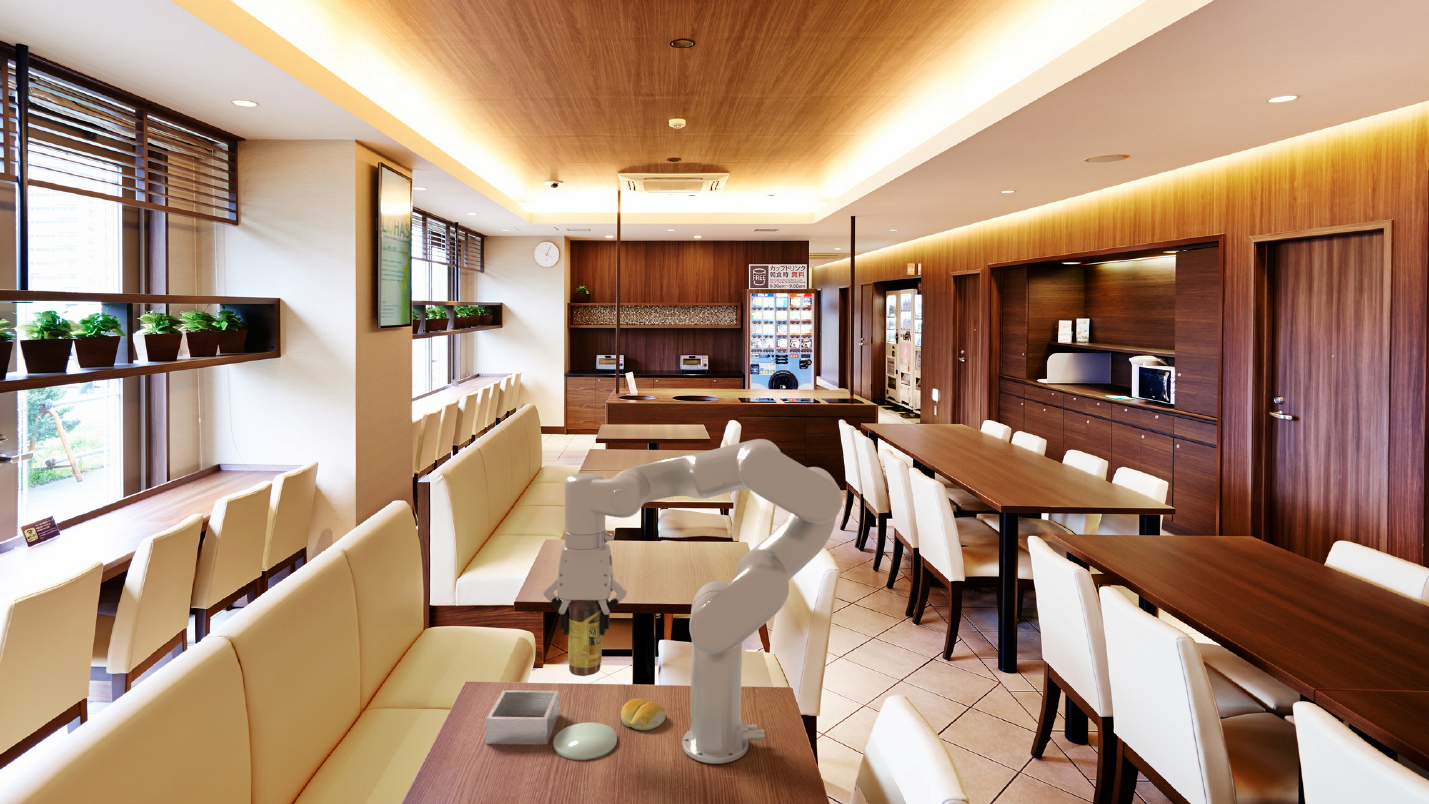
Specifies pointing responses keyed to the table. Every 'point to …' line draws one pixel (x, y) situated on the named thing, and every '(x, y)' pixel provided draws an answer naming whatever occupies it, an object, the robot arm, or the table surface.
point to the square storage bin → (522, 727)
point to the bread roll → (642, 714)
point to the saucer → (585, 741)
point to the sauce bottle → (584, 637)
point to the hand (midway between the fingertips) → (585, 631)
